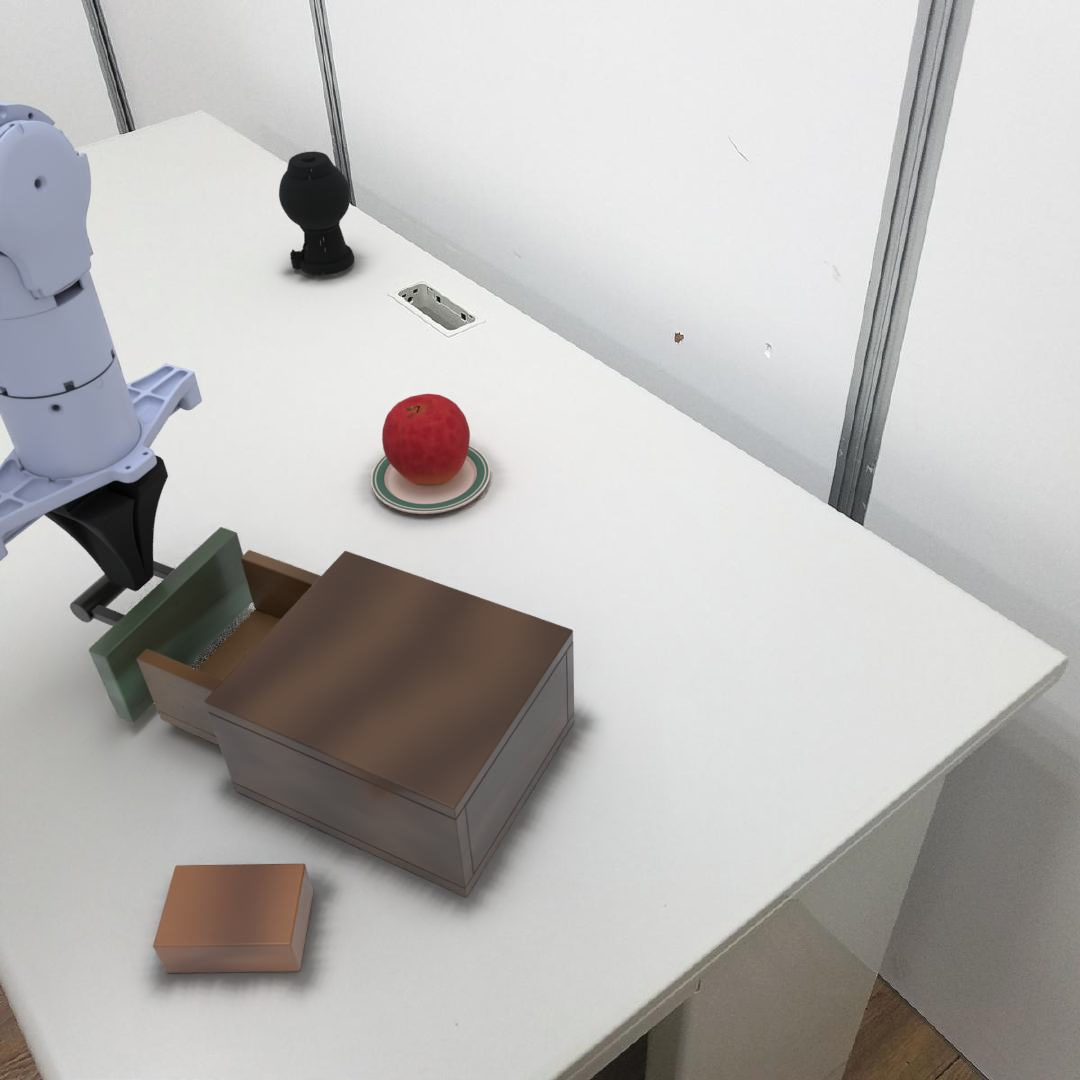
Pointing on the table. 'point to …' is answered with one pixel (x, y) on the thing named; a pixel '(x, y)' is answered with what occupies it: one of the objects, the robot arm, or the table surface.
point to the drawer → (188, 629)
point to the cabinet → (398, 716)
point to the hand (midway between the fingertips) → (131, 578)
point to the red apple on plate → (428, 458)
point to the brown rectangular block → (235, 918)
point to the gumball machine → (317, 212)
